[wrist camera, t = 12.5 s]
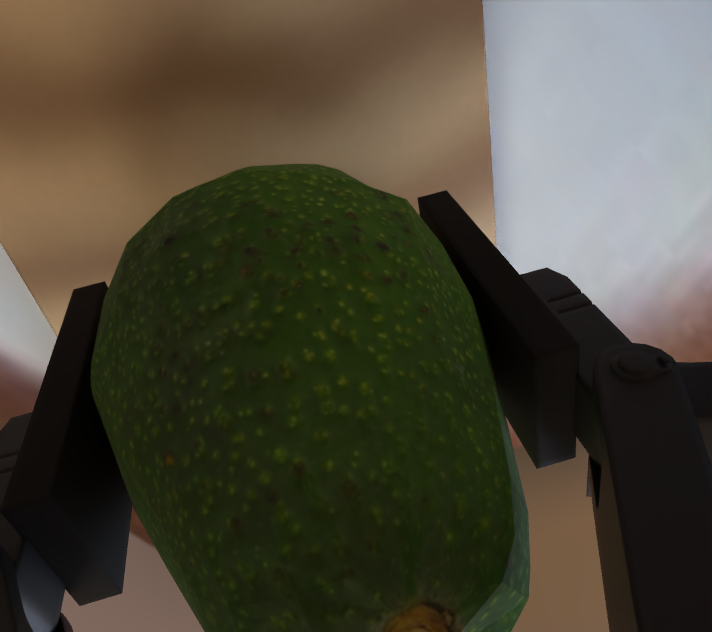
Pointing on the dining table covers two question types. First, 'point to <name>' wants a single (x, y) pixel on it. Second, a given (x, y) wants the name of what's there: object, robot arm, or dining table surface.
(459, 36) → the board
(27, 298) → the dining table surface
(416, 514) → the avocado
